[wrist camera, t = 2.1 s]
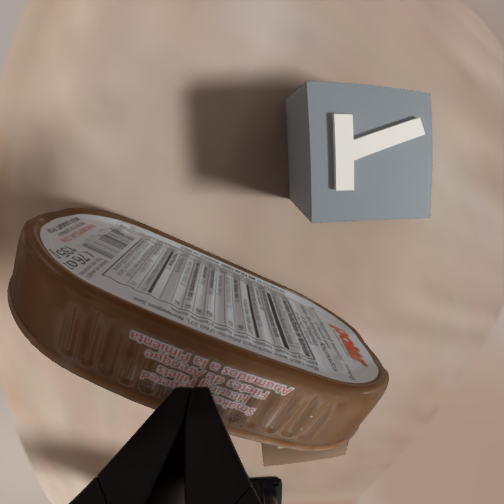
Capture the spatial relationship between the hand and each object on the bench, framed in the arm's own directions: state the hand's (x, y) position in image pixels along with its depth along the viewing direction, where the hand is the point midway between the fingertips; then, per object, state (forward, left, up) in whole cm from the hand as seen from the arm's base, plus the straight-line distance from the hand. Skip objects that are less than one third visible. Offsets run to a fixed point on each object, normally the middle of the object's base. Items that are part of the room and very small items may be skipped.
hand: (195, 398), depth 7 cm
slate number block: (+5, -6, -8) cm, 12 cm away
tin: (0, 0, -9) cm, 9 cm away
